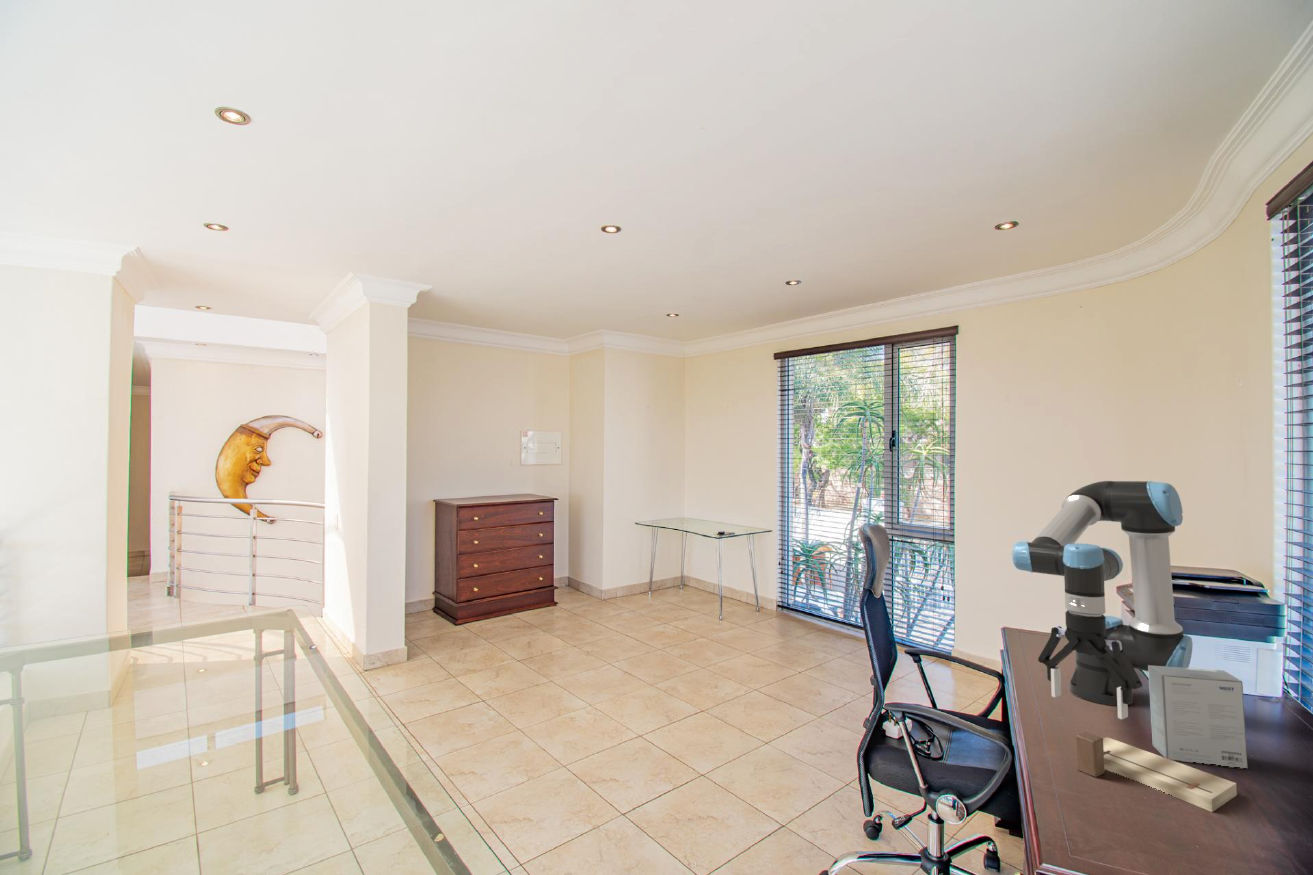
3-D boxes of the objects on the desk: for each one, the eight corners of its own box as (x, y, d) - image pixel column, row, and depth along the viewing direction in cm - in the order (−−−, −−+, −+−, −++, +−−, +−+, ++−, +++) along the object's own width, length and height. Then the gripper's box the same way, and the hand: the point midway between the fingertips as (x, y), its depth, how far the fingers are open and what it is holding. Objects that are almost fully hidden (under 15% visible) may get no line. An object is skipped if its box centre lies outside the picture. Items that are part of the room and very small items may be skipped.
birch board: (1080, 759, 141) (1080, 748, 141) (1106, 747, 147) (1106, 736, 147) (1212, 812, 120) (1211, 798, 120) (1236, 795, 126) (1236, 782, 126)
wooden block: (1095, 778, 133) (1094, 741, 133) (1076, 770, 136) (1074, 734, 137) (1105, 773, 135) (1103, 737, 135) (1085, 765, 138) (1084, 730, 138)
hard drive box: (1229, 754, 142) (1225, 670, 143) (1249, 770, 135) (1245, 681, 136) (1150, 745, 148) (1147, 663, 148) (1165, 760, 140) (1162, 674, 141)
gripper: (1020, 603, 146) (1023, 690, 145) (1141, 628, 124) (1145, 731, 123) (1037, 599, 149) (1040, 685, 149) (1159, 623, 127) (1162, 723, 127)
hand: (1088, 706), depth 136 cm, fingers open, 13 cm apart
